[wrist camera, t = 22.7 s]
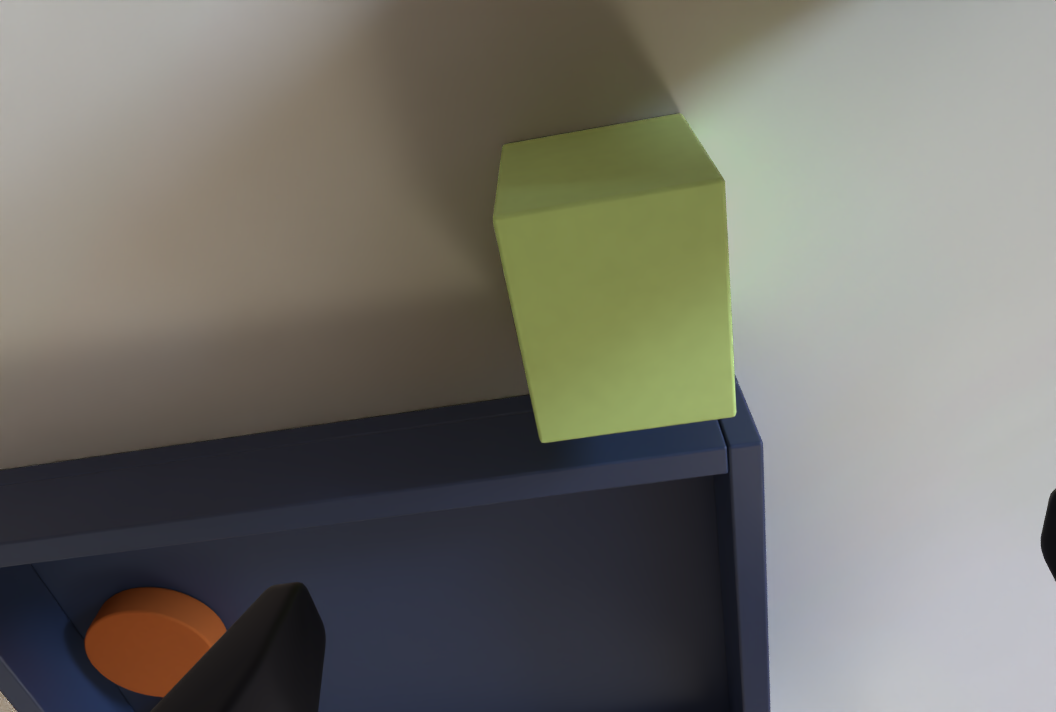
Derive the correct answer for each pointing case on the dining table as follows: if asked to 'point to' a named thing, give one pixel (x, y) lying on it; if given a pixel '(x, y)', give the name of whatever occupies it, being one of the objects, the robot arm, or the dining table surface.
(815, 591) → the dining table surface
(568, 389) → the sponge
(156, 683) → the orange flat cylinder
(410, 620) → the tray
